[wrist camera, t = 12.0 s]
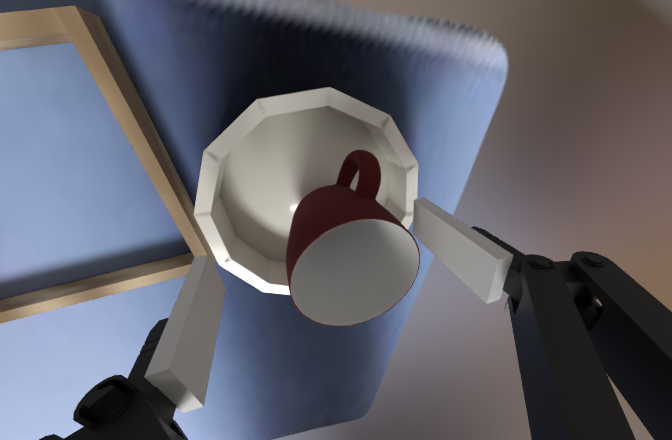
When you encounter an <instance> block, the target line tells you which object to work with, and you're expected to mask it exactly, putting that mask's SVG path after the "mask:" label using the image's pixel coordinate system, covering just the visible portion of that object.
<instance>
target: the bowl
mask: <svg viewBox="0 0 672 440" xmlns="http://www.w3.org/2000/svg"><path fill="white" fill-rule="evenodd" d="M354 150H366V151H368V152H370V153H372V154H373V155H374V156H375V157H376V158H377V159H378V162H379V165H380V169H381V184H380V188H379V192H378V194H377V197H376V201H377V202H378V203H379V204H381V205H382V206H383V207H384V208H386V209H387V210H388V211H389V212H390V213H391V214H392V215H394V216H395V217H396V218H397V219H398V220H399V221H400V222H401V223H402V225H403V226H404V227H405V228H406V229H407V230H408V228H409V227H410V225H411V223H412V221H413V208H414V200H416V199H417V185H418V163H417V161H416V159H415V157H414V156H413V154H412V152H411V151H410V149H409V147H408V145H407V144H406V142H405V140H404V138H403V137H402V135H401V133H400V131H399V130H398V128H397V126H396V125H395V123H394V121H393V119H392V118H391V116H390V115H388V114H386V113H384V112H382V111H380V110H378V109H376V108H374V107H371V106H369V105H367V104H365V103H363V102H361V101H359V100H357V99H354V98H352V97H350V96H348V95H346V94H344V93H342V92H340V91H337V90H335V89H333V88H331V87H325V88H318V89H312V90H306V91H300V92H294V93H288V94H282V95H276V96H270V97H264V98H258V99H256V100H255V101H254V102H253V103H252V104H251V105H250V106H249V107H248V108H247V109H246V110H245V111H244V112H243V113H242V114H241V115H240V116H239V117H238V118H237V119H236V120H235V121H234V122H233V123H232V124H231V125H230V126H229V127H228V128H227V129H226V130H225V131H224V132H223V133H222V134H221V135H220V136H219V137H218V138H216V139H215V140H214V141H213V142H212V143H211V144H210V145H209V146H208V147H207V148H206V149H205V150H204V152H203V159H202V165H201V171H200V177H199V184H198V190H197V196H196V202H195V209H194V214H193V215H194V217H195V219H196V221H197V223H198V224H199V226H200V228H201V230H202V232H203V234H204V236H205V238H206V240H207V242H208V244H209V246H210V248H211V250H212V252H213V254H214V256H215V258H216V260H217V262H218V264H219V265H220V266H222V267H223V268H225V269H227V270H228V271H230V272H231V273H233V274H235V275H236V276H238V277H240V278H241V279H243V280H244V281H246V282H248V283H249V284H251V285H253V286H254V287H256V288H257V289H259V290H261V291H262V292H268V293H277V294H287V295H290V292H289V286H288V279H287V270H286V249H287V243H288V238H289V233H290V228H291V223H292V218H293V215H294V212H295V210H296V208H297V206H298V204H299V203H300V201H301V200H302V199H303V198H304V197H305V196H306V195H307V194H309V193H310V192H312V191H313V190H315V189H318V188H320V187H324V186H329V185H334V184H336V181H337V178H338V175H339V172H340V169H341V166H342V164H343V162H344V160H345V158H346V157H347V155H348V154H349V153H351V152H352V151H354ZM358 177H359V170H358V172H357V173H356V175H355V177H354V179H353V181H352V183H351V185H350V188H351V189H352V190H354V191H355V189H356V186H357V182H358Z"/></svg>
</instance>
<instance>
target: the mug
mask: <svg viewBox="0 0 672 440" xmlns="http://www.w3.org/2000/svg"><path fill="white" fill-rule="evenodd" d="M358 170H359V177H358V182H357V186H356V189H355V191H354V190H352V189H351V188H350V185H351V183H352V181H353V179H354V177H355V175H356V173H357V172H358ZM380 184H381V169H380V165H379V162H378V159H377V158H376V157H375V156H374V155H373V154H372V153H370V152H368V151H366V150H354V151H352V152H351V153H349V154H348V155H347V157H346V158H345V160H344V162H343V164H342V166H341V169H340V172H339V175H338V178H337V181H336V184H334V185H329V186H324V187H320V188H318V189H315V190H313V191H312V192H310V193H309V194H307V195H306V196H305V197H304V198H303V199H302V200H301V201H300V203H299V204H298V206H297V208H296V210H295V212H294V215H293V218H292V223H291V228H290V233H289V238H288V243H287V249H286V270H287V279H288V286H289V292H290V296H291V299H292V301H293V303H294V305H295V307H296V308H297V309H298V311H299V312H300V313H301V314H303V315H304V316H305V317H306V318H308V319H310V320H312V321H314V322H316V323H319V324H323V325H328V326H350V325H356V324H360V323H363V322H366V321H369V320H372V319H374V318H376V317H378V316H380V315H382V314H383V313H385V312H387V311H388V310H389V309H391V308H392V307H393V306H395V305H396V304H397V303H398V302H399V301H400V300H401V299H402V298H403V297H404V296H405V295H406V293H407V292H408V291H409V289H410V288H411V286H412V284H413V283H414V281H415V278H416V276H417V273H418V269H419V264H420V253H419V248H418V245H417V243H416V241H415V239H414V237H413V236H412V234H411V233H410V232H409V231H408V230H407V229H406V228H405V227H404V226H403V225H402V223H401V222H400V221H399V220H398V219H397V218H396V217H395V216H394V215H392V214H391V213H390V212H389V211H388V210H387V209H386V208H384V207H383V206H382V205H381V204H379V203H378V202H377V201H376V197H377V194H378V192H379V188H380Z"/></svg>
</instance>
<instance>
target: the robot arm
mask: <svg viewBox="0 0 672 440" xmlns="http://www.w3.org/2000/svg"><path fill="white" fill-rule="evenodd" d="M413 235H414V236H415V237H416V238H417V239H418V240H419V241H421V242H422V243H423V244H424V245H425V246H426V247H427V248H428V249H429V250H430V251H431V252H432V253H433V254H434V255H435V256H436V257H438V258H439V259H440V260H441V261H442V262H443V263H444V264H445V265H446V266H447V267H448V268H449V269H450V270H451V271H453V273H455V274H456V275H457V276H458V277H459V278H460V279H461V280H462V281H463V282H464V283H465V284H466V285H467V286H468V287H469V288H470V289H472V290H473V291H474V292H475V293H476V294H477V295H478V296H479V297H480V298H481V299H482V300H483V301H484V302H485V303H487V304H488V303H490V302H493V301H496V300H498V299H500V297H501V294H502V291H503V290H504V291H505V292H506V293H507V294H509V297H508V300H507V303H506V306H505V310H504V311H506V312H507V311H508V308H509V310H510V316H511V322H512V328H513V333H514V339H515V345H516V350H517V357H518V362H519V368H520V373H521V380H522V386H523V391H524V397H525V403H526V408H527V415H528V420H529V426H530V431H531V437H532V440H636V439H635V437H634V435H633V432H632V430H631V428H630V426H629V423H628V421H627V419H626V417H625V415H624V412H623V410H622V408H621V406H620V403H619V401H618V399H617V397H616V394H615V392H614V390H613V388H612V385H611V383H610V381H609V379H608V376H609V377H610V379H611V380H612V382H613V383H614V384H615V386H616V387H617V389H618V390H619V391H620V393H621V394H622V395H623V397H624V398H625V400H626V401H627V402H628V404H629V405H630V407H631V408H632V409H633V411H634V412H635V414H636V415H637V416H638V418H639V419H640V420H641V422H642V423H643V425H644V426H645V427H646V428H647V430H648V431H649V433H650V434H651V436H652V437H653V438H654V440H672V312H671V311H670V310H669V309H668V308H666V307H665V306H664V305H663V304H662V303H661V302H659V301H658V300H657V299H656V298H655V297H654V296H652V295H651V294H650V293H649V292H648V291H646V290H645V289H644V288H643V287H642V286H641V285H639V284H638V283H637V282H636V281H635V280H634V279H632V278H631V277H630V276H629V275H628V274H626V273H625V272H624V271H623V270H622V269H621V268H619V267H618V266H617V265H616V264H615V263H614V262H612V261H611V260H609V259H608V258H606V257H604V256H601V255H599V254H596V253H592V252H584V251H582V252H576V253H574V254H573V255H572V257H571V260H570V261H561V262H560V261H559V262H554V261H552V260H551V259H548V258H546V257H544V256H540V255H530V254H529V255H524V254H523V253H521V252H519V251H518V250H516V249H515V248H513V247H512V246H510V245H508V244H507V243H505V242H503V241H502V240H499V238H497V237H495V236H493V235H492V234H490V233H489V232H487V231H485V230H484V229H481V228H478V227H475V226H474V227H469V226H468V225H466V224H464V223H463V222H461V221H459V220H458V219H457V218H455V217H454V216H452V215H451V214H449V213H448V212H446V211H444V210H443V209H441V208H440V207H438V206H437V205H435V204H434V203H432V202H430V201H429V200H427V199H426V198H424V197H423V198H420V199H416V200H414V208H413ZM225 291H226V287H225V285H224V283H223V281H222V279H221V277H220V276H219V274H218V272H217V270H216V268H215V266H214V264H213V262H212V260H211V259H210V257H209V255H208V254H207V255H203V256H199V257H196V258H194V259H193V262H192V264H191V267H190V269H189V271H188V274H187V276H186V279H185V281H184V283H183V286H182V288H181V290H180V293H179V295H178V298H177V300H176V302H175V305H174V307H173V310H172V312H171V314H170V317H169V318H166V319H163V320H159V321H158V323H157V324H156V325H155V326H154V327H153V329H152V330H151V331H150V332H149V335H148V337H147V339H146V341H145V345H143V347H142V349H141V351H140V355H139V356H138V358H137V360H136V362H135V364H134V366H133V368H132V370H131V372H130V374H129V377H128V379H127V378H125V377H124V376H122V375H114V376H112V377H109V378H107V379H105V380H103V381H102V382H100V383H99V384H97V385H96V386H94V387H93V388H92V389H91V390H90V391H89V392H88V393H87V394H86V395H85V396H84V397H83V398H82V400H81V401H80V402H79V403H78V405H77V407H76V409H75V411H74V418H73V420H74V421H76V422H78V423H79V424H81V425H82V426H84V427H82V428H81V429H79V430H78V431H76V432H74V433H73V434H71V435H69V436H68V437H66V438H64V439H63V438H61V437H59V436H57V435H55V434H53V435H49V436H45V437H43V438H41V439H39V440H188V439H187V437H186V436H185V434H184V433H183V431H182V430H181V428H180V427H179V425H178V424H177V423H176V421H174V420H173V416H174V412H175V409H176V407H177V408H178V409H179V410H180V411H181V412H182V413H183V414H184V413H186V412H189V411H192V410H195V409H197V408H200V407H203V406H204V402H205V396H206V391H207V386H208V381H209V375H210V370H211V365H212V360H213V354H214V349H215V344H216V339H217V333H218V328H219V323H220V318H221V312H222V307H223V302H224V297H225ZM596 299H598V300H599V301H600V302H601V304H602V306H600V305H599V304H598V303H597V302H596ZM606 373H607V374H606ZM607 375H608V376H607Z"/></svg>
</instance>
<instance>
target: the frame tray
mask: <svg viewBox="0 0 672 440" xmlns="http://www.w3.org/2000/svg"><path fill="white" fill-rule="evenodd" d="M67 42H73V43H74V45H75V47H76V49H77V50H78V52H79V54H80V56H81V57H82V59H83V61H84V63H85V65H86V66H87V68H88V70H89V72H90V73H91V75H92V77H93V79H94V80H95V82H96V84H97V86H98V87H99V89H100V91H101V93H102V95H103V96H104V98H105V100H106V102H107V103H108V105H109V107H110V109H111V110H112V112H113V114H114V116H115V117H116V119H117V121H118V123H119V124H120V126H121V128H122V130H123V132H124V133H125V135H126V137H127V139H128V140H129V142H130V144H131V146H132V147H133V149H134V151H135V153H136V154H137V156H138V158H139V160H140V161H141V163H142V165H143V167H144V169H145V170H146V172H147V174H148V176H149V177H150V179H151V181H152V183H153V184H154V186H155V188H156V190H157V191H158V193H159V195H160V197H161V199H162V200H163V202H164V204H165V206H166V207H167V209H168V211H169V213H170V214H171V216H172V218H173V220H174V221H175V223H176V225H177V227H178V228H179V230H180V232H181V234H182V236H183V237H184V239H185V241H186V243H187V244H188V246H189V248H190V250H191V251H192V252H191V253H187V254H183V255H179V256H175V257H171V258H167V259H163V260H159V261H155V262H151V263H146V264H142V265H138V266H134V267H130V268H126V269H122V270H118V271H114V272H110V273H106V274H102V275H98V276H94V277H90V278H86V279H82V280H78V281H74V282H70V283H66V284H62V285H58V286H54V287H49V288H45V289H41V290H37V291H33V292H29V293H25V294H21V295H17V296H13V297H9V298H5V299H1V300H0V323H4V322H8V321H12V320H16V319H20V318H24V317H27V316H31V315H35V314H39V313H43V312H47V311H51V310H54V309H58V308H62V307H66V306H70V305H74V304H77V303H81V302H85V301H89V300H93V299H97V298H101V297H104V296H108V295H112V294H116V293H120V292H124V291H128V290H131V289H135V288H139V287H143V286H147V285H151V284H155V283H158V282H162V281H166V280H170V279H174V278H178V277H181V276H185V275H187V274H188V271H189V269H190V267H191V264H192V262H193V259H194V258H196V257H199V256H203V255H207V254H208V255H209V257H210V259H211V260H212V262H213V264H214V266H215V264H216V261H217V260H216V258H215V256H214V254H213V252H212V250H211V248H210V246H209V244H208V242H207V240H206V238H205V236H204V234H203V232H202V230H201V228H200V226H199V224H198V223H197V221H196V219H195V217H194V215H193V214H194V209H195V207H194V205H193V203H192V201H191V199H190V197H189V195H188V193H187V191H186V189H185V187H184V185H183V183H182V181H181V179H180V177H179V175H178V173H177V171H176V169H175V167H174V165H173V163H172V161H171V159H170V157H169V155H168V153H167V151H166V149H165V147H164V145H163V143H162V141H161V139H160V137H159V135H158V133H157V131H156V129H155V127H154V125H153V123H152V121H151V119H150V117H149V115H148V113H147V111H146V109H145V107H144V105H143V103H142V101H141V99H140V97H139V95H138V93H137V91H136V89H135V87H134V85H133V83H132V81H131V79H130V77H129V75H128V73H127V71H126V69H125V67H124V65H123V63H122V61H121V59H120V57H119V55H118V53H117V51H116V49H115V47H114V45H113V43H112V41H111V39H110V37H109V35H108V33H107V31H106V29H105V27H104V25H103V23H102V21H101V19H100V17H99V16H97V15H95V14H93V13H91V12H88V11H86V10H84V9H82V8H80V7H77V6H65V7H55V8H45V9H35V10H25V11H15V12H5V13H0V51H1V50H9V49H18V48H26V47H34V46H42V45H51V44H59V43H67Z"/></svg>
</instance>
